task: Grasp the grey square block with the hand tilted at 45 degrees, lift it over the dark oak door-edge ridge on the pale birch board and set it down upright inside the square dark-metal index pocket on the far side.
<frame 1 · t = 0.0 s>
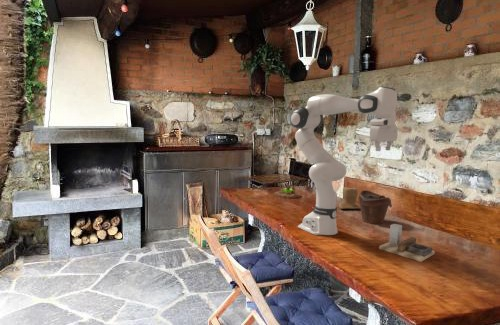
hand: (382, 150, 171), 48 cm above the table, fingers open, 8 cm apart
door plate: (406, 251, 173), on the table
plant: (287, 196, 290), on the table
brown tapered bucket: (373, 221, 223), on the table
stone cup: (347, 208, 254), on the table
grey square block: (394, 244, 177), point 1 cm above the table, touching door plate
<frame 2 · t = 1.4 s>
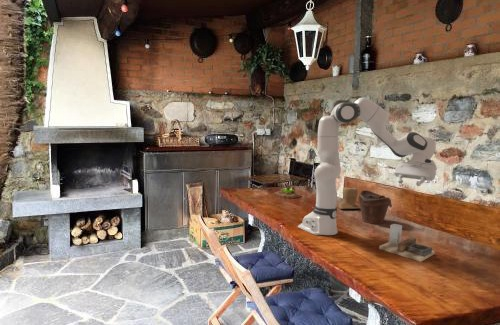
hand: (408, 183, 184), 30 cm above the table, fingers open, 8 cm apart
nothing on the table moved.
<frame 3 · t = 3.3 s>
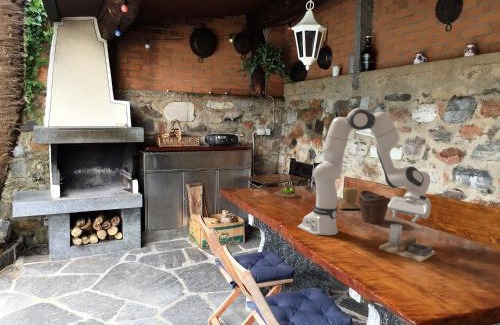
hand: (402, 220, 180), 13 cm above the table, fingers open, 8 cm apart
nothing on the table moved.
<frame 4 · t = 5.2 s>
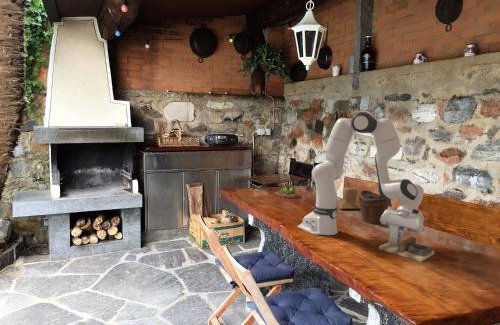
hand: (394, 234, 176), 7 cm above the table, fingers closed on grey square block, 4 cm apart
grey square block: (394, 244, 177), point 2 cm above the table, touching door plate, gripper
everything else where it was.
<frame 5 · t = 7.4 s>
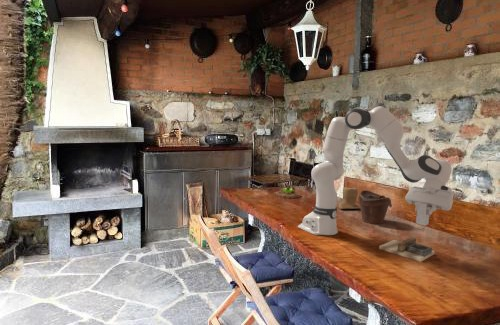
hand: (422, 212, 165), 21 cm above the table, fingers closed on grey square block, 4 cm apart
grey square block: (422, 223, 167), point 15 cm above the table, touching gripper
everything else where it was.
when the fingers open (9 cm above the table, at t = 9.9 s): grey square block drops 2 cm, resting on door plate.
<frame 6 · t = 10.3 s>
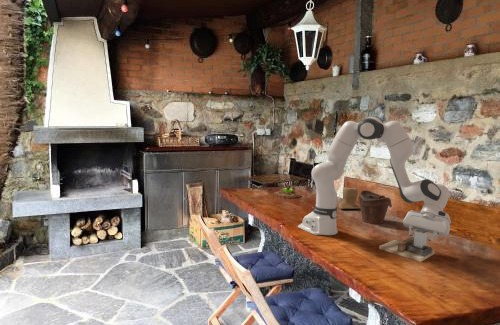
hand: (420, 237, 167), 9 cm above the table, fingers open, 8 cm apart
grey square block: (419, 252, 168), point 1 cm above the table, touching door plate
everything else where it was.
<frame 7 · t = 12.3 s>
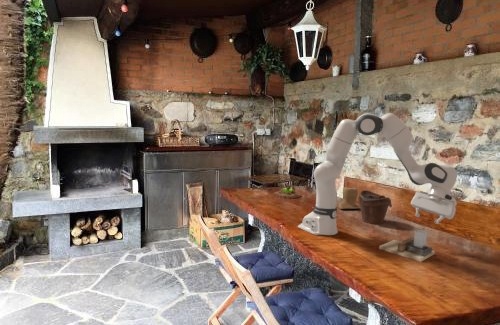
hand: (426, 219, 176), 14 cm above the table, fingers open, 8 cm apart
nothing on the table moved.
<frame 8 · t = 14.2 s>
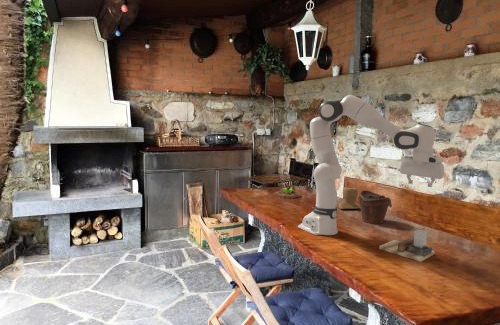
hand: (419, 185, 177), 31 cm above the table, fingers open, 8 cm apart
nothing on the table moved.
at the end: grey square block 0.1 cm from the target spot on the door plate, point 1.5 cm above the door plate's base; grey square block tilted 0°; the gripper is holding nothing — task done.
